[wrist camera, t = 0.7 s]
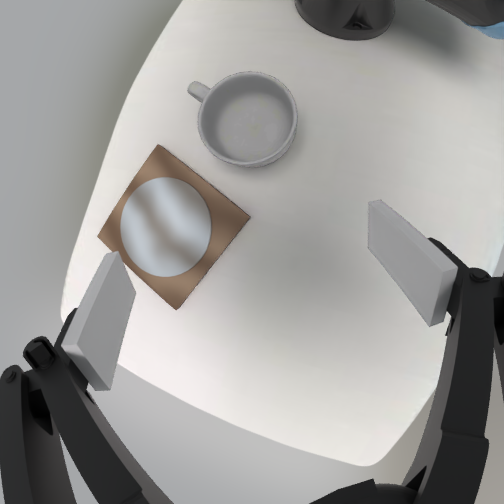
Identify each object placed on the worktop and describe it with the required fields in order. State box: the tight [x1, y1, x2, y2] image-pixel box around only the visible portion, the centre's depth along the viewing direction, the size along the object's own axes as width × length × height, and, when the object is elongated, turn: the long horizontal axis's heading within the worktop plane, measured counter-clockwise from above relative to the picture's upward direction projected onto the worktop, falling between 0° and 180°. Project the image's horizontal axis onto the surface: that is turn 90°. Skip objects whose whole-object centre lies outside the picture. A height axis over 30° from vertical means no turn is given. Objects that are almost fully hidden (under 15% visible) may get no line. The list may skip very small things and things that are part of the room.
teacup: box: [187, 71, 297, 167], centre depth 34 cm, size 14×11×8 cm
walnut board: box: [97, 145, 250, 310], centre depth 40 cm, size 16×16×2 cm
